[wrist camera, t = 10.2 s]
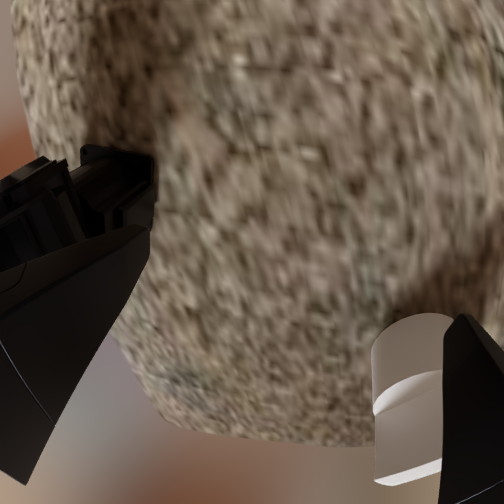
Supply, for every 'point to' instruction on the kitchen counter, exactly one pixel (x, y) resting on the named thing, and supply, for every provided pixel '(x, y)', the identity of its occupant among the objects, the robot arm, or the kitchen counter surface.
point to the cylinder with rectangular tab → (408, 398)
